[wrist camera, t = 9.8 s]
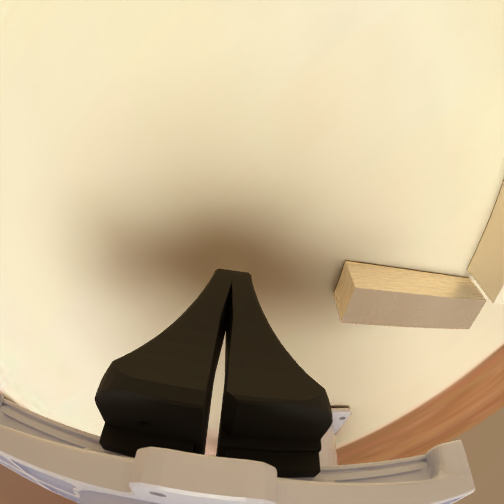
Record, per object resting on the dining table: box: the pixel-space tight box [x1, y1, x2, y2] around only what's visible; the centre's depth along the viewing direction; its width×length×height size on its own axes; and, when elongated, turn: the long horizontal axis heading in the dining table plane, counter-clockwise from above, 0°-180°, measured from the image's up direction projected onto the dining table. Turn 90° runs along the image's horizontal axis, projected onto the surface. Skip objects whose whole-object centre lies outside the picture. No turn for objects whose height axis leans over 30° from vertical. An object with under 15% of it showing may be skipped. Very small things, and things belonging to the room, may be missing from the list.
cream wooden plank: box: [334, 261, 486, 329], centre depth 14 cm, size 2×8×2 cm, turn 82°
